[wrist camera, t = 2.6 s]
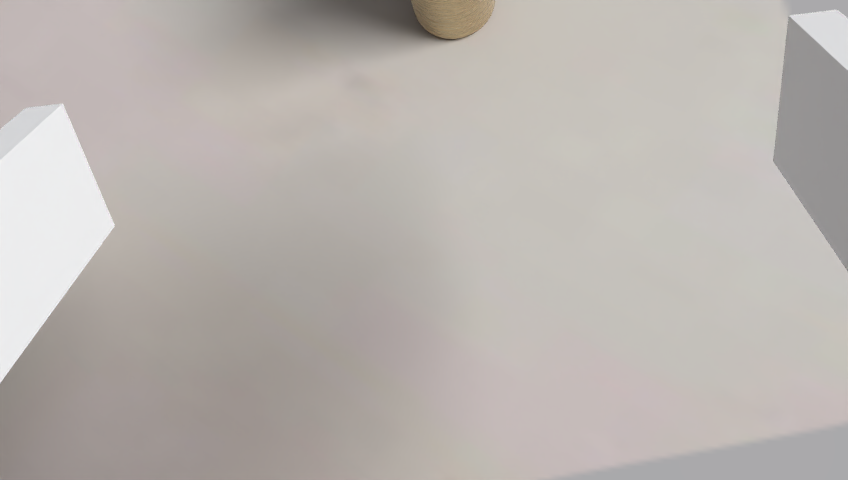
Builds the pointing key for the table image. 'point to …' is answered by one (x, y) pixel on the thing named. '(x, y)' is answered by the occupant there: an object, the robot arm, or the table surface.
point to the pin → (452, 16)
